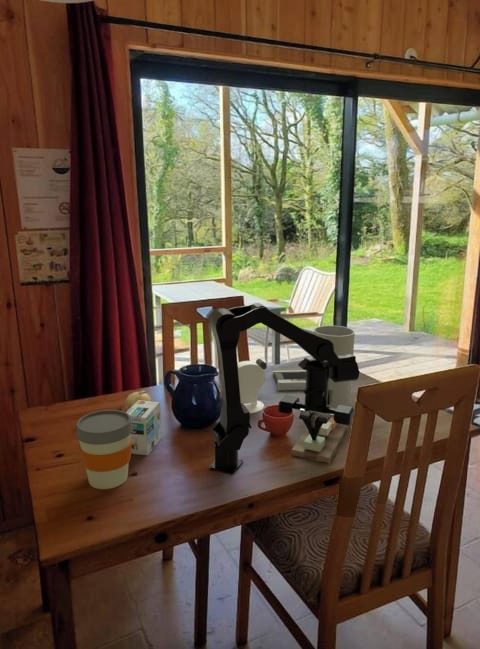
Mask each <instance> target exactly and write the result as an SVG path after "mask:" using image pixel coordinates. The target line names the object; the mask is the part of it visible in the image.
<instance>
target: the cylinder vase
mask: <svg viewBox="0 0 480 649" xmlns="http://www.w3.org/2000/svg"><path fill="white" fill-rule="evenodd" d="M313 332H315V333H318V334H320V335H322V336H323V337H325V338H327V339H328V340H330V341H331V342H332V343H333V346H334V352H335V354H336V355H337V356H343V355H347V354H353V355H354V351H355V350H354V349H355V336H356V335H355V332H356V331H355V330H354V329H352V328H350V327H348V326H347V327H346V326H341V325H321V326H317V327H314V329H313ZM311 360H316V359H315V358H313V357H312V359H311ZM323 362H327V361H323ZM328 385H329V389H331V390H333V396H332V402H331V401H330V405H327V407H332V408H334V409H337V407H338V406H339V405H345V406H350V407H351V396H352V381H345V382H334V381H333V380H332V379H330V378H329V383H328Z"/></svg>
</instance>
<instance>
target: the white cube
mask: <svg viewBox="0 0 480 649" xmlns="http://www.w3.org/2000/svg"><path fill="white" fill-rule="evenodd" d="M331 428H332V422H327V424H323V425H322V427H321V429H320V432H319V434H318V436H320V437H324V438H325V437H326V436H327V435H328V434H329V432H330V431H331Z"/></svg>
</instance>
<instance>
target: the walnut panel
mask: <svg viewBox="0 0 480 649" xmlns="http://www.w3.org/2000/svg"><path fill="white" fill-rule="evenodd" d="M315 420H316V418H315ZM348 426H349V425H343V424H338V423H337V425H336V427H335V429H334V430H333V431H330V432H329V434H328V435H327V436H326V437H325V445H324V447H323V448H322V450H321V452H317V451H312V450H308V449H304V441H305V439H306V438H307V437H308V435H309V434H310V433H309V431H308V429H307V428H306V429H305V430H304V431H303V433H302V435H301V436H300V437H299V439H298V441H297V442H296V443H295V445H294V446H293V448H292V449H291V456H295V457H300V458H304V459H309V460H313V461H317V462H322V463H327V464H330V463H331V461H332V460H333V457H334V456H335V454H336V452H337V450H338V448H339V446H340V445H341V443H342V441H343V439H344V438H345V436H346V434H347V432H348Z"/></svg>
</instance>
